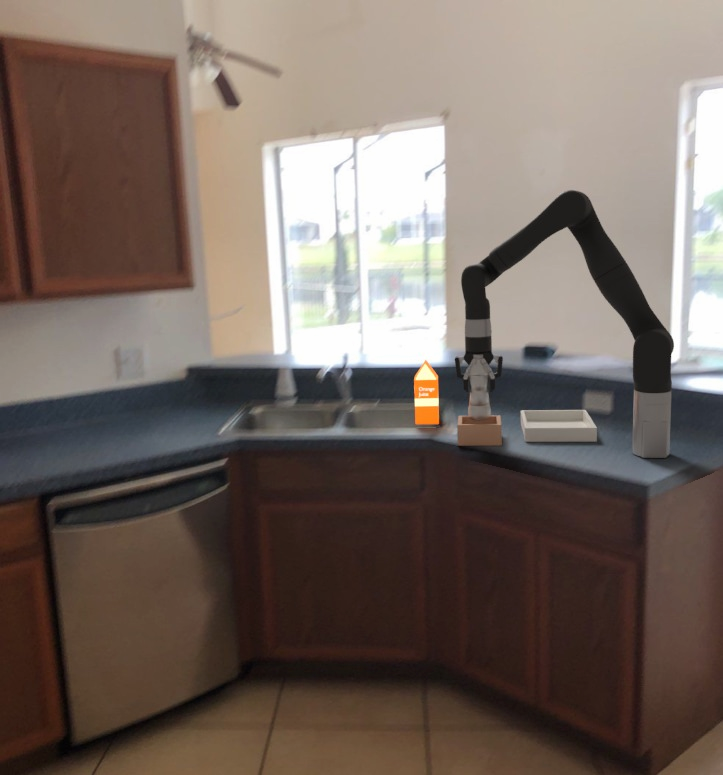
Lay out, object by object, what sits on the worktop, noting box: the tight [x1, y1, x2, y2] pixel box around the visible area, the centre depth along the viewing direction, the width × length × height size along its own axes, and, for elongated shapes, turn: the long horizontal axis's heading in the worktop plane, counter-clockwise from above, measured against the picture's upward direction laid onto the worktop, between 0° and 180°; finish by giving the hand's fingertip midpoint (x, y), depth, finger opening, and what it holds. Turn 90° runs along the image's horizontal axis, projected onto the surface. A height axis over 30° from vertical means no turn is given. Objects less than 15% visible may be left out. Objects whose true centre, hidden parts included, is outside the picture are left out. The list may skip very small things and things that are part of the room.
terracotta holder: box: [456, 414, 503, 446], centre depth 225 cm, size 12×12×6 cm
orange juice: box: [413, 359, 440, 425], centre depth 251 cm, size 8×9×20 cm
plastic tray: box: [520, 409, 598, 443], centre depth 232 cm, size 24×20×4 cm
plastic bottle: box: [467, 353, 492, 421], centre depth 223 cm, size 6×7×20 cm
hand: (479, 391), depth 223 cm, fingers closed on plastic bottle, 6 cm apart
